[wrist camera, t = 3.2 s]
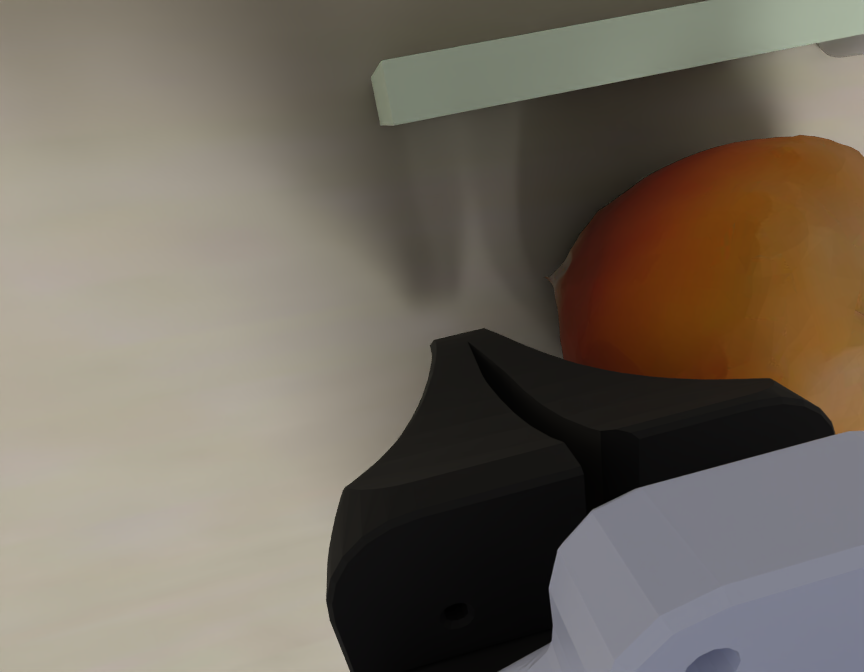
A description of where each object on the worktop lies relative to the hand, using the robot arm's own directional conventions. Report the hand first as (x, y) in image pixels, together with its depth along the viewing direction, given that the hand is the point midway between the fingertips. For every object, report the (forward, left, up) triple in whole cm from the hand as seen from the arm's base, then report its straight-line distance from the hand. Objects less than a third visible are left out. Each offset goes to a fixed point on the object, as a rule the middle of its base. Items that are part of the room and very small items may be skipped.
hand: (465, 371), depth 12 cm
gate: (+6, -6, -2) cm, 9 cm away
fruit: (0, -6, -3) cm, 7 cm away
